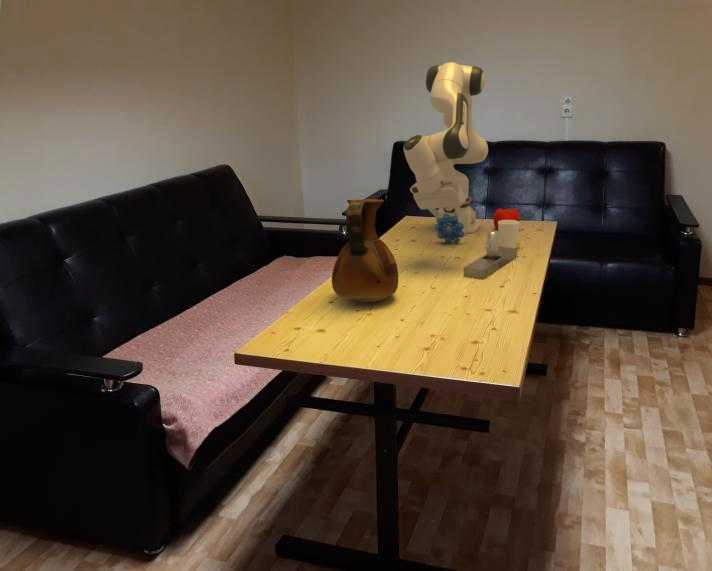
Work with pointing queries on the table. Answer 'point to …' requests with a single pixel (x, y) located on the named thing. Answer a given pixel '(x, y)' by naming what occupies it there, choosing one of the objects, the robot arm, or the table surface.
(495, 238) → the pin
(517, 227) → the white cup
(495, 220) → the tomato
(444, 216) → the grapes
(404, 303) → the table surface
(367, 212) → the ceramic pitcher
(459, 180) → the robot arm
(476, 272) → the grey slab
